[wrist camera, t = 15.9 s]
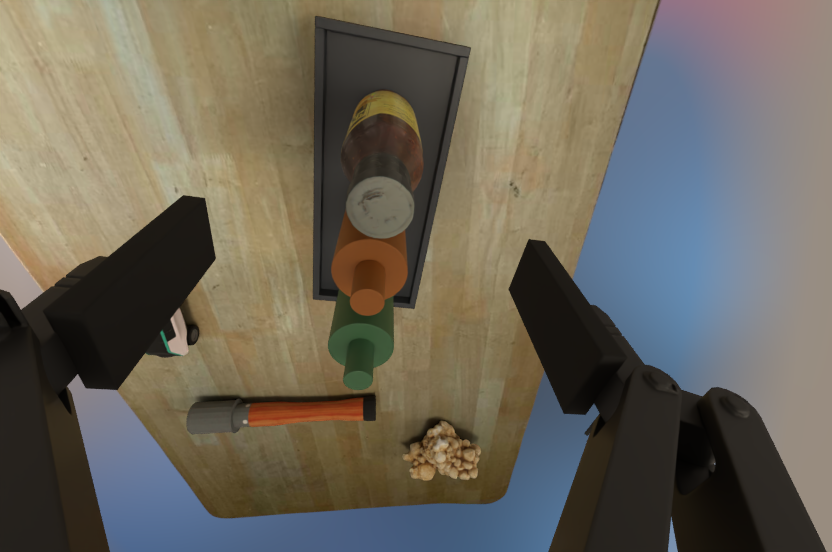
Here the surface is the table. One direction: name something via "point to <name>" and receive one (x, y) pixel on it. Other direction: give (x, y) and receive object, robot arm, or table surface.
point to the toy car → (174, 338)
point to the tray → (333, 111)
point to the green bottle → (361, 341)
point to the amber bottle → (368, 267)
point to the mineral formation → (443, 454)
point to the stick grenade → (274, 413)
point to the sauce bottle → (382, 164)
